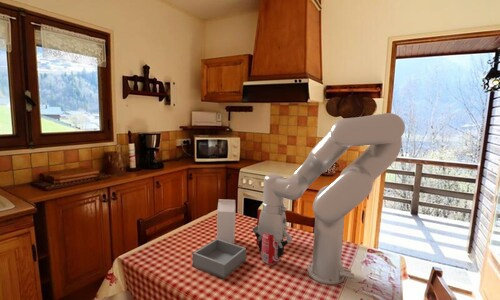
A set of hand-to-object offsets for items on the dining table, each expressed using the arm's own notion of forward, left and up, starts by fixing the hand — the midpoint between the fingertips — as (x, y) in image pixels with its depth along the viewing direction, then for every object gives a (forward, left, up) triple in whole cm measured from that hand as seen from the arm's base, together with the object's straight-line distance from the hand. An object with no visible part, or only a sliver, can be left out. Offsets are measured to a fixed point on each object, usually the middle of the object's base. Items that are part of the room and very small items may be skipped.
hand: (270, 252), depth 99 cm
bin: (+15, +12, -3) cm, 19 cm away
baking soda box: (+9, -14, -3) cm, 17 cm away
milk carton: (+23, -3, -3) cm, 23 cm away
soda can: (0, 0, -3) cm, 3 cm away
